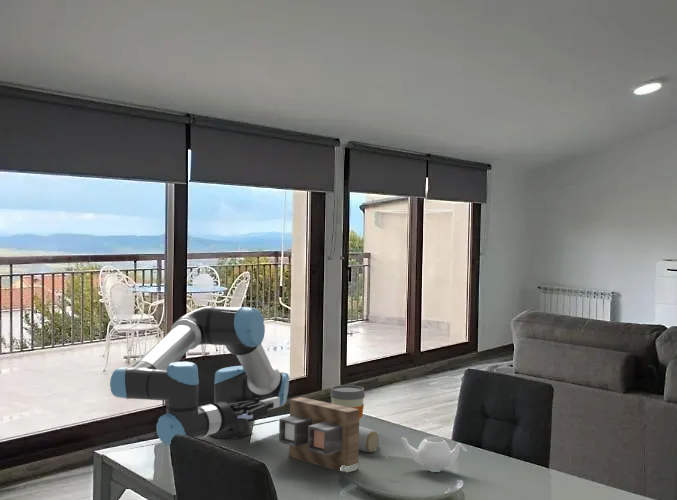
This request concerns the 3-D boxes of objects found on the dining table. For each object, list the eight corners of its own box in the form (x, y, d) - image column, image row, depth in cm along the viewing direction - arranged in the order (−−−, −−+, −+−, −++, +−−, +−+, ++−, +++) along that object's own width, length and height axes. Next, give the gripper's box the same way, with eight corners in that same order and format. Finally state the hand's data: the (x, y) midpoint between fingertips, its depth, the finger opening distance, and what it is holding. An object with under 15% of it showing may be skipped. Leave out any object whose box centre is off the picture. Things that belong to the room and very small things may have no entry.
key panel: (273, 461, 212) (274, 403, 212) (300, 452, 221) (301, 397, 221) (332, 479, 196) (333, 416, 196) (358, 469, 205) (359, 409, 205)
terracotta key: (313, 446, 203) (313, 429, 203) (322, 443, 206) (322, 426, 206) (326, 449, 199) (326, 432, 199) (335, 446, 203) (335, 429, 202)
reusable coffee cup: (332, 424, 257) (333, 384, 257) (365, 426, 255) (366, 385, 255) (327, 433, 245) (327, 391, 244) (362, 435, 243) (362, 392, 243)
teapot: (468, 477, 200) (468, 446, 200) (399, 473, 203) (399, 441, 203) (467, 467, 209) (467, 437, 209) (401, 463, 212) (401, 433, 212)
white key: (284, 438, 210) (285, 422, 210) (293, 435, 214) (294, 419, 214) (296, 441, 207) (296, 425, 207) (305, 438, 210) (305, 422, 210)
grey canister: (367, 455, 219) (368, 431, 219) (346, 450, 224) (347, 427, 224) (385, 448, 228) (386, 425, 228) (365, 444, 233) (365, 421, 233)
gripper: (197, 427, 182) (261, 410, 200) (229, 437, 174) (294, 419, 192) (197, 399, 182) (261, 385, 200) (230, 408, 173) (294, 392, 192)
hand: (277, 401), depth 196 cm, fingers closed
